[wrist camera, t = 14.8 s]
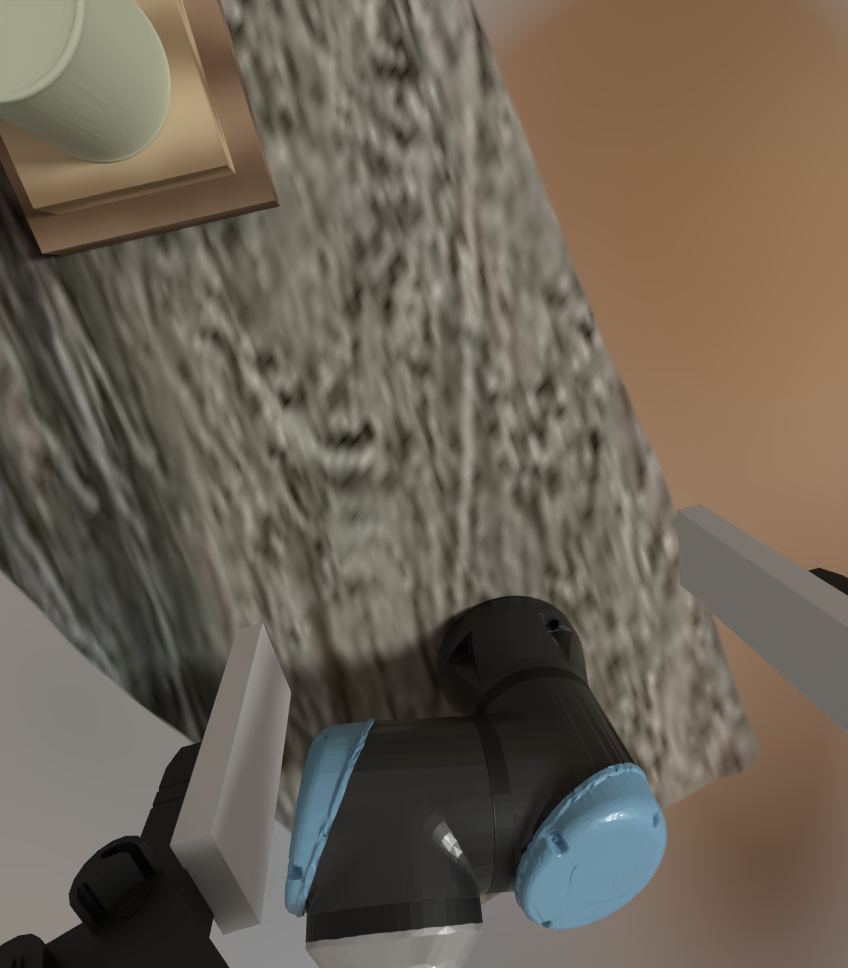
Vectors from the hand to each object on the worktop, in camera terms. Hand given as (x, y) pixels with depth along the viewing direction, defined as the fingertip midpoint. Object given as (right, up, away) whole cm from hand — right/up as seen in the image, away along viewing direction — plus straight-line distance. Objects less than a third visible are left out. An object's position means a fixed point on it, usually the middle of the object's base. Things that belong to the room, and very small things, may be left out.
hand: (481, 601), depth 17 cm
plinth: (-22, +29, +20) cm, 42 cm away
